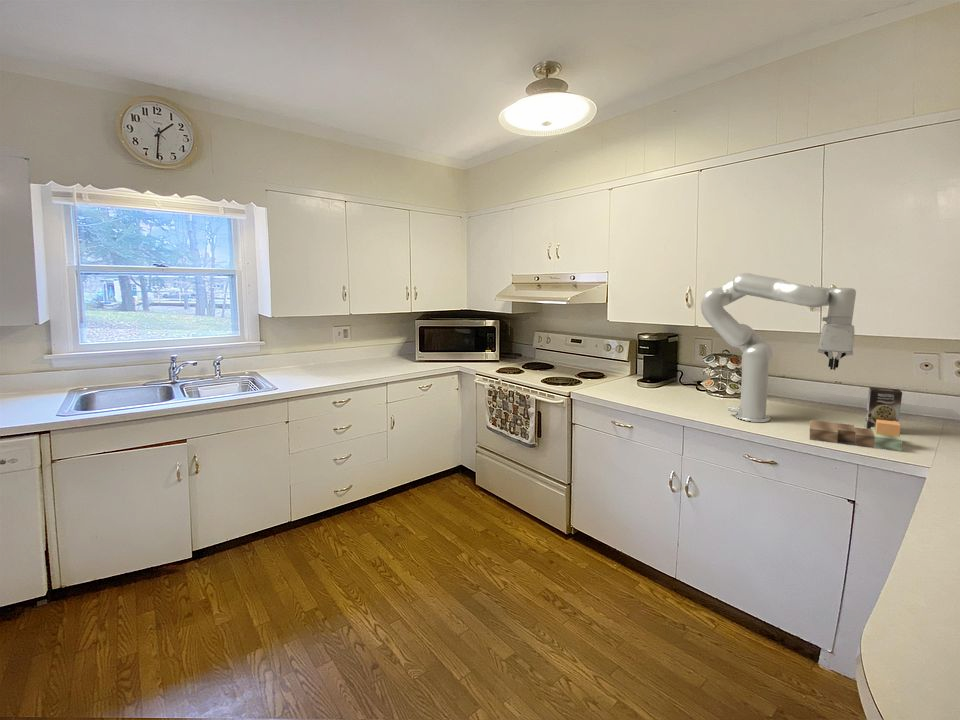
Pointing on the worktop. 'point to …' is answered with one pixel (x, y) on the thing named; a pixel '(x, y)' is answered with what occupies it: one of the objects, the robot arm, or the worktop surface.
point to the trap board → (852, 436)
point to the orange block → (887, 428)
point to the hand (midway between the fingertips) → (832, 369)
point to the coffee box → (882, 405)
